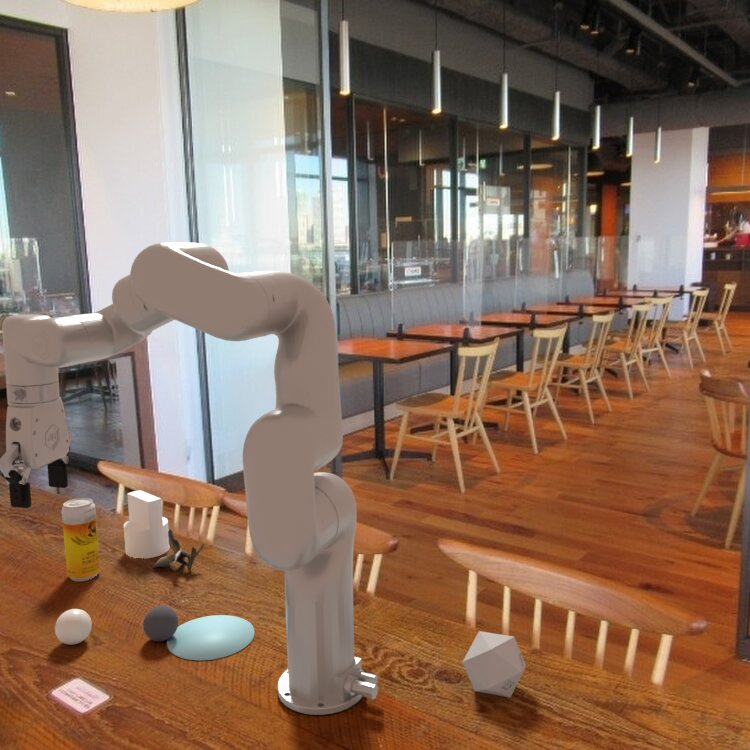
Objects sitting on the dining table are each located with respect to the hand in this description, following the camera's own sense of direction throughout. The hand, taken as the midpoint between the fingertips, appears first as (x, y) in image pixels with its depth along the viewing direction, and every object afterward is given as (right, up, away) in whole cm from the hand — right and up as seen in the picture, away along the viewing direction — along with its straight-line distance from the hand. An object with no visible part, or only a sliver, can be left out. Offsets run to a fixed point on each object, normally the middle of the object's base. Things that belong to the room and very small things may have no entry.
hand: (40, 496), depth 119 cm
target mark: (+27, -23, +1) cm, 36 cm away
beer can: (-3, -20, +25) cm, 32 cm away
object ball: (+19, -21, 0) cm, 28 cm away
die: (+71, -25, -14) cm, 77 cm away
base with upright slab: (+6, -18, +37) cm, 42 cm away
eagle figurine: (+14, -19, +28) cm, 37 cm away
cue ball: (+6, -21, 0) cm, 22 cm away
